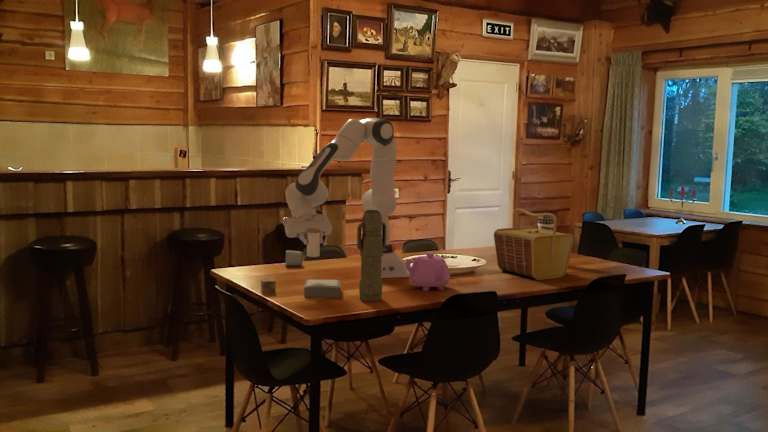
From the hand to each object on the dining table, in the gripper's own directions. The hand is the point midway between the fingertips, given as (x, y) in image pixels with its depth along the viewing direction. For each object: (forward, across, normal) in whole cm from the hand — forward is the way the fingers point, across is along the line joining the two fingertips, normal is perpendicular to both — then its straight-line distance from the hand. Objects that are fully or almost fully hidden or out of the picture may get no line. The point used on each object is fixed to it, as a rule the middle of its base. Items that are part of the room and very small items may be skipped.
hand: (314, 243), depth 296 cm
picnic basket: (+26, +106, +2) cm, 109 cm away
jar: (+3, 0, +4) cm, 5 cm away
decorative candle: (+13, +132, +15) cm, 134 cm away
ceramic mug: (-23, +15, +51) cm, 58 cm away
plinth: (+20, 0, +8) cm, 21 cm away
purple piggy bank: (+29, +43, -1) cm, 52 cm away
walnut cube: (+11, -18, +17) cm, 27 cm away
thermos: (+32, +12, -5) cm, 35 cm away
